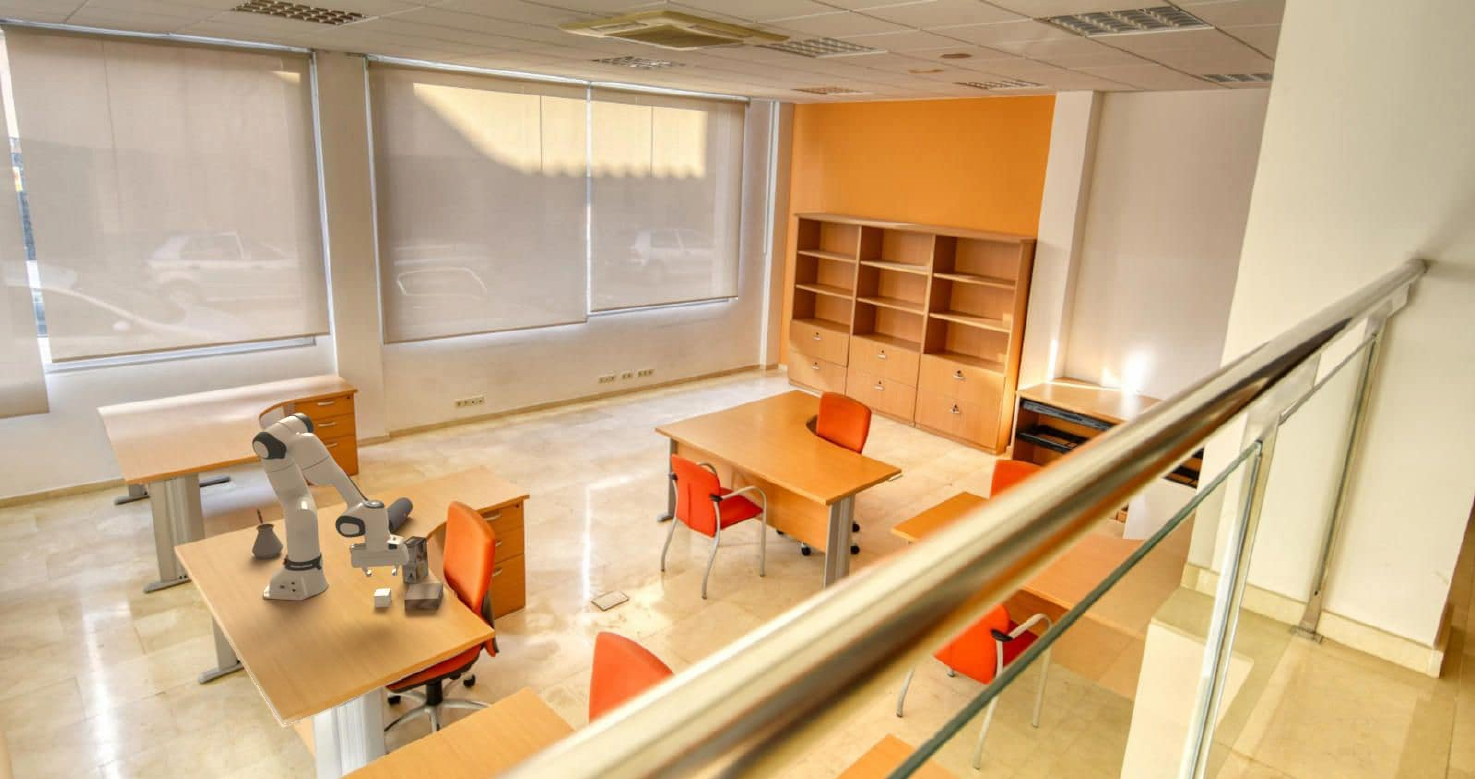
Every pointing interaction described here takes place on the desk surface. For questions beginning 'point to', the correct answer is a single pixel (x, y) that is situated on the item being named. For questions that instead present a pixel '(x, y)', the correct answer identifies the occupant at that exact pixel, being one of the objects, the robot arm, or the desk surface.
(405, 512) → the bluetooth speaker
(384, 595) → the white cube
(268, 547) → the coffee pot
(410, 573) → the coffee box
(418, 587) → the walnut block
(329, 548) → the desk surface
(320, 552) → the robot arm
